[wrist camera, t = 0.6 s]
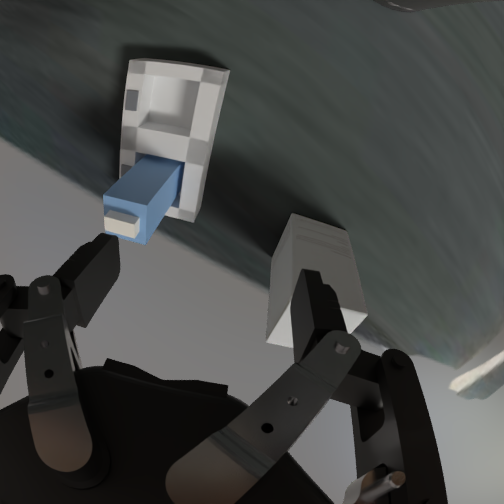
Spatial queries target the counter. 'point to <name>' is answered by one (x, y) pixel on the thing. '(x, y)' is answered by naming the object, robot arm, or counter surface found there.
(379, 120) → the counter surface
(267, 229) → the counter surface
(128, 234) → the plug
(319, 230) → the supplement box
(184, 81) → the jack panel
